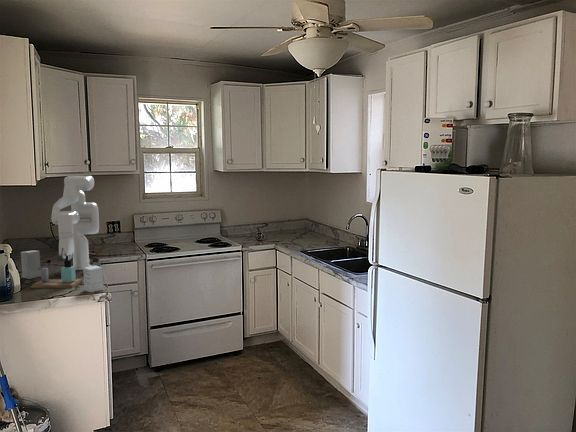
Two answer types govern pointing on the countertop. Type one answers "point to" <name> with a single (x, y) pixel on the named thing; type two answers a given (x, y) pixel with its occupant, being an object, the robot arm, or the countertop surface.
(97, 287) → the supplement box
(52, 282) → the walnut base board
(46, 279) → the dark steel post
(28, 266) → the skincare box
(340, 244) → the countertop surface
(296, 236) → the countertop surface
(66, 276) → the turquoise block
